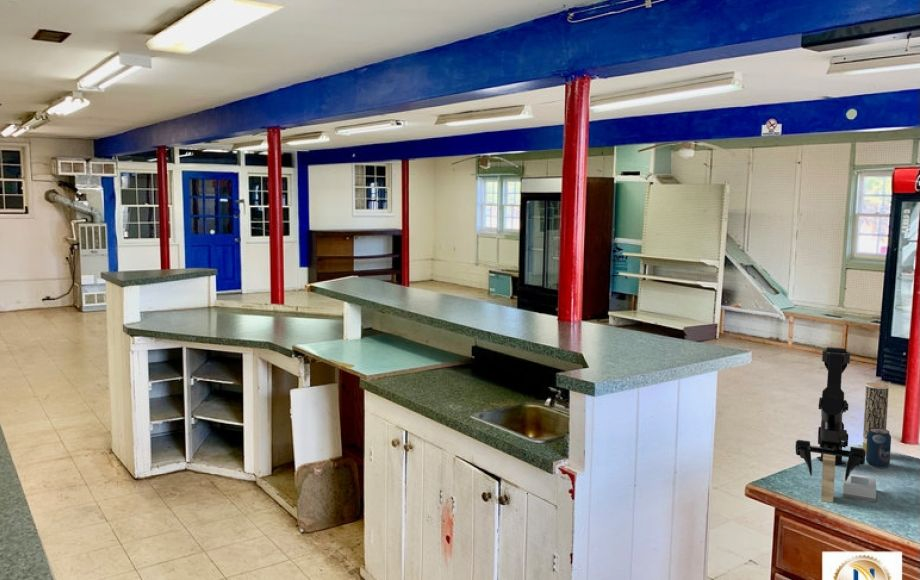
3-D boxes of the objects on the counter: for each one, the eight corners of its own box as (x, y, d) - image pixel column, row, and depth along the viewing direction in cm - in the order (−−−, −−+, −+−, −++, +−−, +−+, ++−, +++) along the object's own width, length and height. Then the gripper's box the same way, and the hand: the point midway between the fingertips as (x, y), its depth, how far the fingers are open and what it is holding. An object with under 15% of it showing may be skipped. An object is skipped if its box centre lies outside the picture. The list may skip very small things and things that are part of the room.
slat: (821, 494, 213) (823, 453, 211) (833, 496, 211) (835, 455, 210) (820, 500, 209) (822, 458, 208) (833, 502, 208) (835, 460, 206)
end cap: (843, 484, 220) (844, 472, 220) (874, 489, 216) (875, 477, 215) (843, 496, 211) (843, 483, 211) (875, 501, 207) (876, 489, 207)
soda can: (883, 470, 231) (885, 435, 230) (861, 464, 237) (863, 430, 235) (893, 465, 235) (895, 430, 234) (871, 459, 241) (873, 425, 239)
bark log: (862, 449, 250) (866, 381, 247) (884, 452, 247) (888, 383, 244) (862, 455, 245) (865, 386, 242) (884, 458, 241) (888, 388, 238)
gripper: (797, 414, 216) (792, 460, 207) (866, 422, 207) (865, 471, 198) (797, 431, 223) (793, 476, 215) (865, 440, 214) (863, 487, 206)
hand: (828, 477), depth 209 cm, fingers open, 9 cm apart
